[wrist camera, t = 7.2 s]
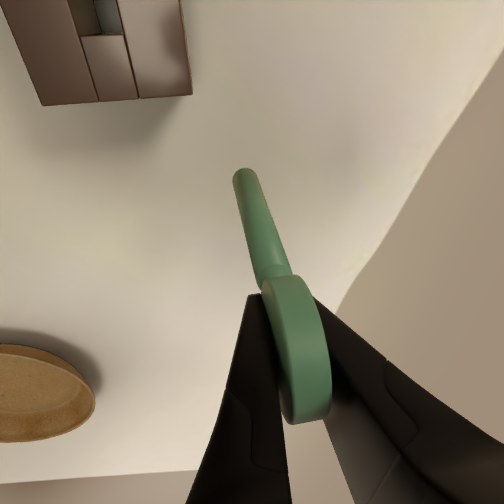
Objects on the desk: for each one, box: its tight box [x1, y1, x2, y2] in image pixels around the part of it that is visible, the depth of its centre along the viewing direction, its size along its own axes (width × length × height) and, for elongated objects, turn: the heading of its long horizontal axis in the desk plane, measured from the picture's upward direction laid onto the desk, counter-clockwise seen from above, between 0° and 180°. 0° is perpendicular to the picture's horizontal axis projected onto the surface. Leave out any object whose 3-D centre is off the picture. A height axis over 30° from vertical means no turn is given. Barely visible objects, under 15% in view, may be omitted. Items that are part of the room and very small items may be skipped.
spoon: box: [233, 168, 332, 425], centre depth 10 cm, size 1×4×10 cm, turn 2°
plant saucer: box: [0, 344, 95, 443], centre depth 28 cm, size 15×15×3 cm
